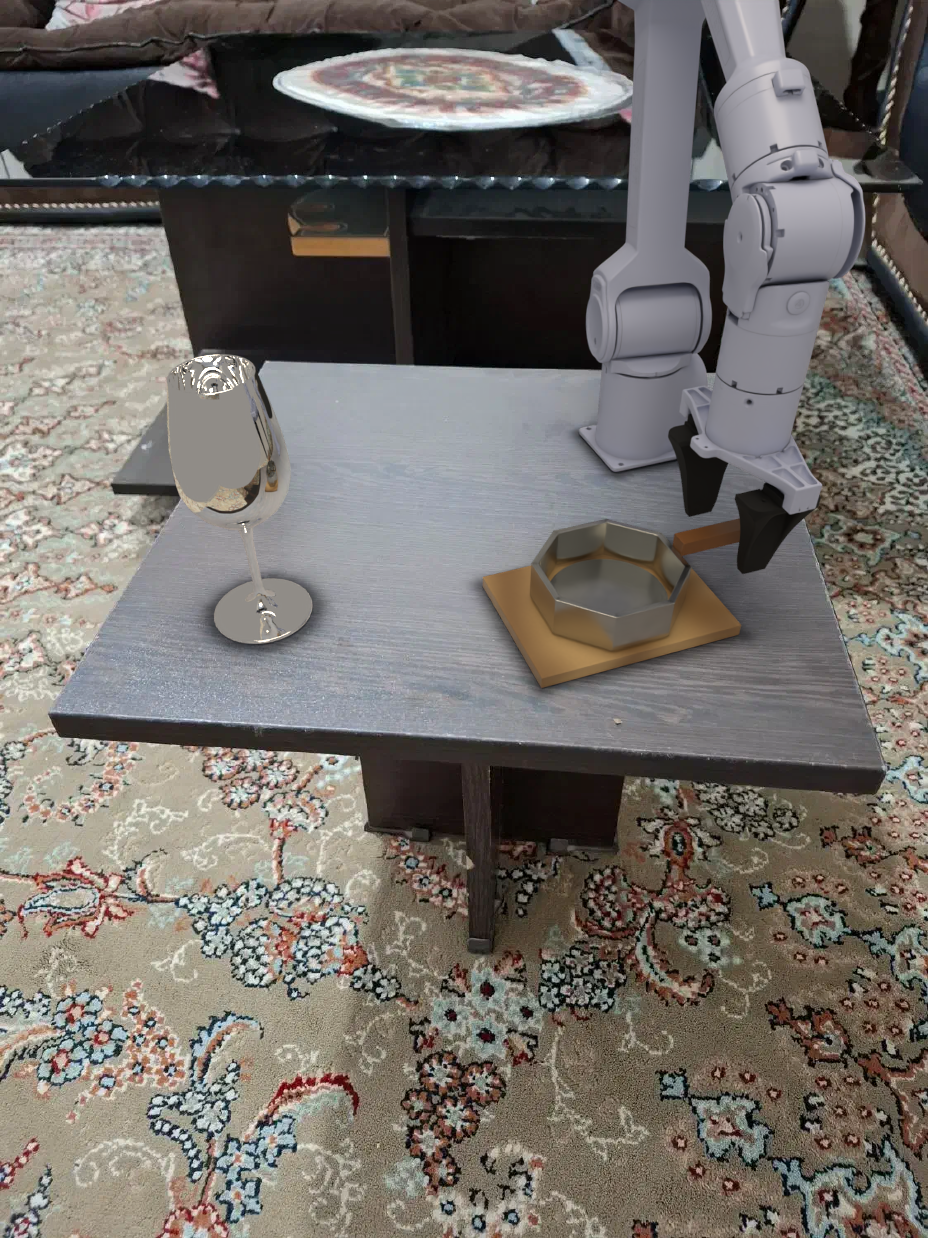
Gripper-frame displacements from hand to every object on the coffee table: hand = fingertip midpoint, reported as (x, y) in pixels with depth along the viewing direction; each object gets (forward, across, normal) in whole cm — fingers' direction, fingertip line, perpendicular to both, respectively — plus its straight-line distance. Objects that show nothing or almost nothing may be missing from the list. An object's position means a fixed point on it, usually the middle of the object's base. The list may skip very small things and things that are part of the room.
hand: (723, 539), depth 68 cm
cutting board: (+4, 0, -10) cm, 10 cm away
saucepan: (+3, 0, -6) cm, 7 cm away
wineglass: (+4, -9, -34) cm, 36 cm away
